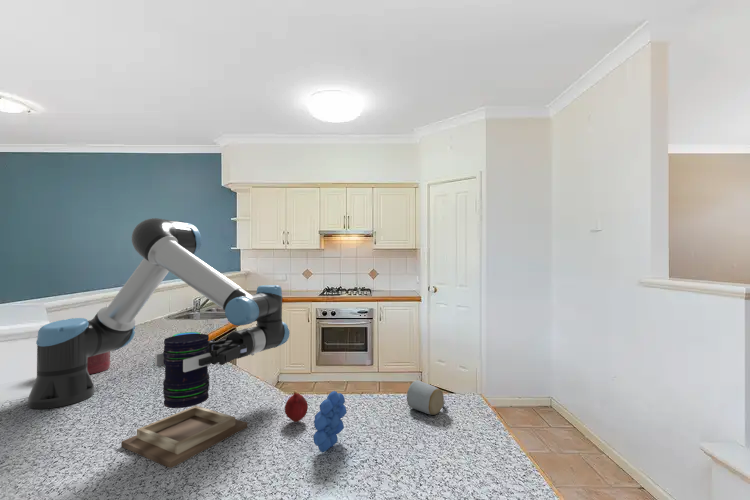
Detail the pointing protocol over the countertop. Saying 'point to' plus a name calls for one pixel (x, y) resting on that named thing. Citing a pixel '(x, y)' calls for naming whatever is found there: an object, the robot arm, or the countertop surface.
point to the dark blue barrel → (185, 385)
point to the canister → (98, 363)
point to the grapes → (329, 421)
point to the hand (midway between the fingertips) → (169, 363)
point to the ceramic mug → (425, 398)
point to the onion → (296, 407)
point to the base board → (182, 435)
